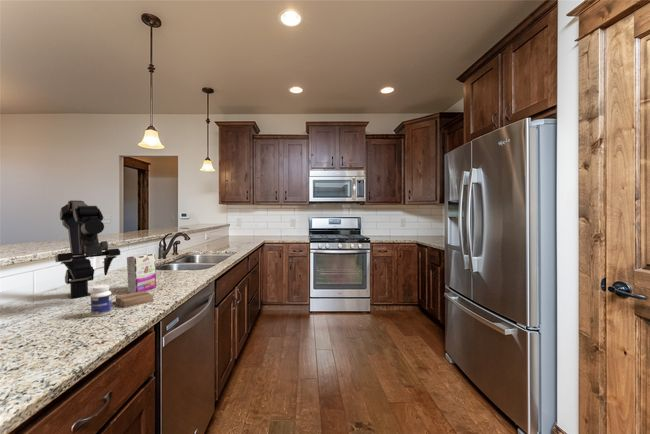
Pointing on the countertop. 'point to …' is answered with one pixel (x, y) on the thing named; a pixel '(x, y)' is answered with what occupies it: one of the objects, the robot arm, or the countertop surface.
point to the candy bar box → (141, 272)
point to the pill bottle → (101, 300)
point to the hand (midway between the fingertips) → (90, 277)
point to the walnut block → (134, 299)
